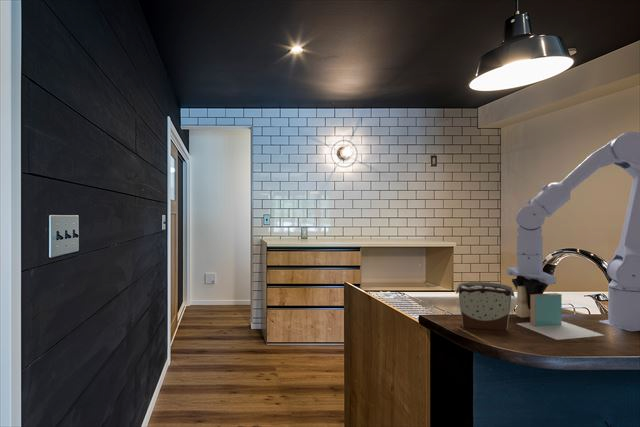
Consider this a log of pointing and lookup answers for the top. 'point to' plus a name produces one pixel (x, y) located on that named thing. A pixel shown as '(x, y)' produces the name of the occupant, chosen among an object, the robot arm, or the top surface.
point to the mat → (561, 331)
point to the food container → (485, 305)
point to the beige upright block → (522, 302)
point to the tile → (545, 309)
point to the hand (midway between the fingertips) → (529, 308)
